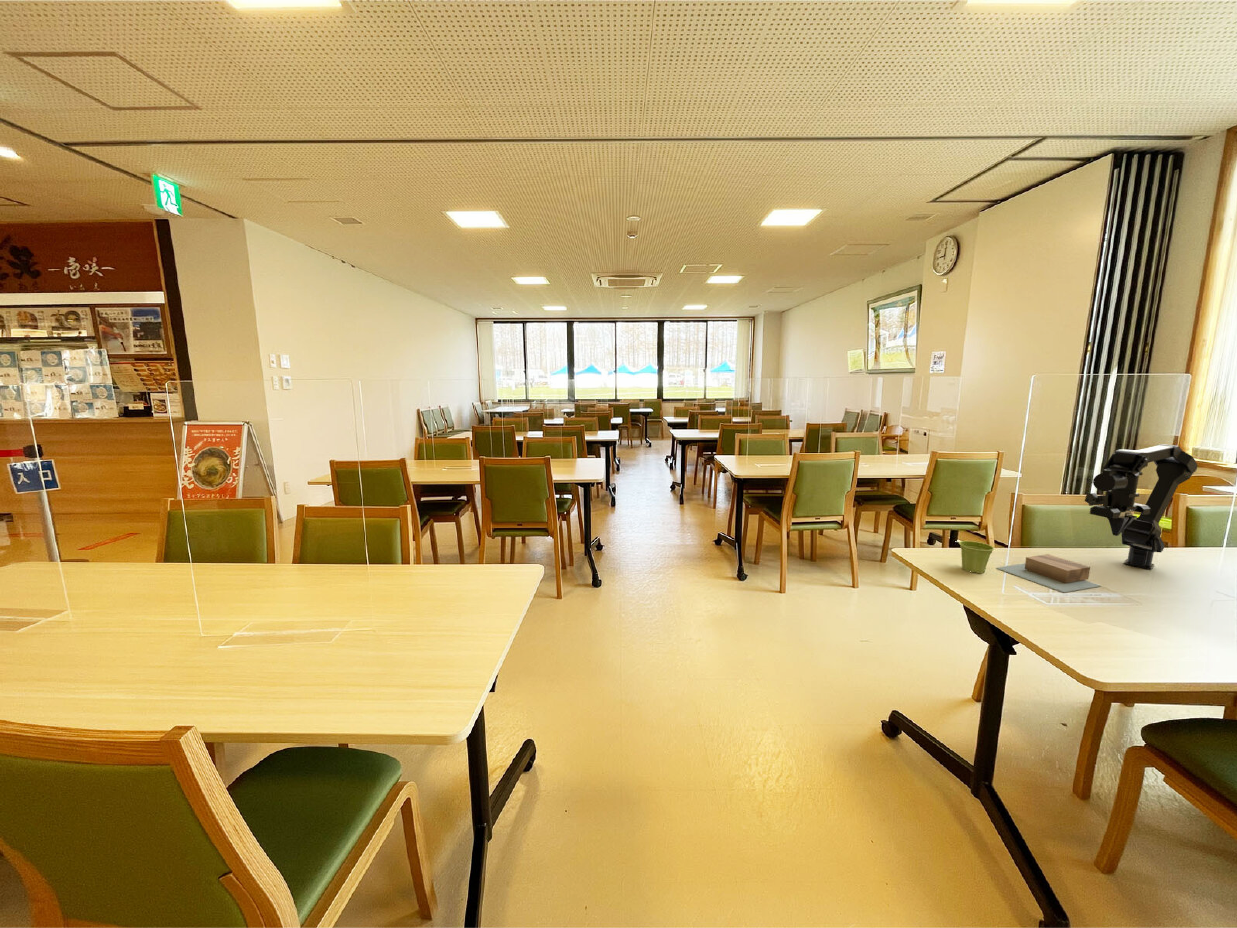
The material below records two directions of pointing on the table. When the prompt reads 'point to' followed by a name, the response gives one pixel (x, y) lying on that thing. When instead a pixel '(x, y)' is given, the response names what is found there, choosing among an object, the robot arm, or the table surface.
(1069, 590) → the mat
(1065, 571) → the walnut block
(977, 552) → the plant pot
